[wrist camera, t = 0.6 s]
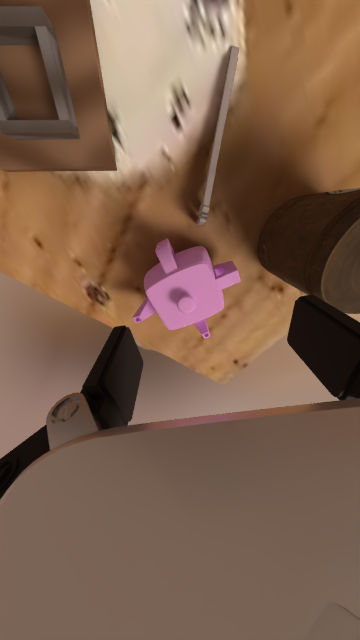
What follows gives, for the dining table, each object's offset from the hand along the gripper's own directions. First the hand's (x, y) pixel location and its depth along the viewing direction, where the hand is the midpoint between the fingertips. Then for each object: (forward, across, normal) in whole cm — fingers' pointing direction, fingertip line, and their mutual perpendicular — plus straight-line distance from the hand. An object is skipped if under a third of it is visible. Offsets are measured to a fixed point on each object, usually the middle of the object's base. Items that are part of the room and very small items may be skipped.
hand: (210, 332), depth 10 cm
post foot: (+30, +17, -23) cm, 41 cm away
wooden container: (+30, -22, +3) cm, 37 cm away
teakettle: (+30, +2, +8) cm, 31 cm away
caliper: (+30, -7, -13) cm, 34 cm away
